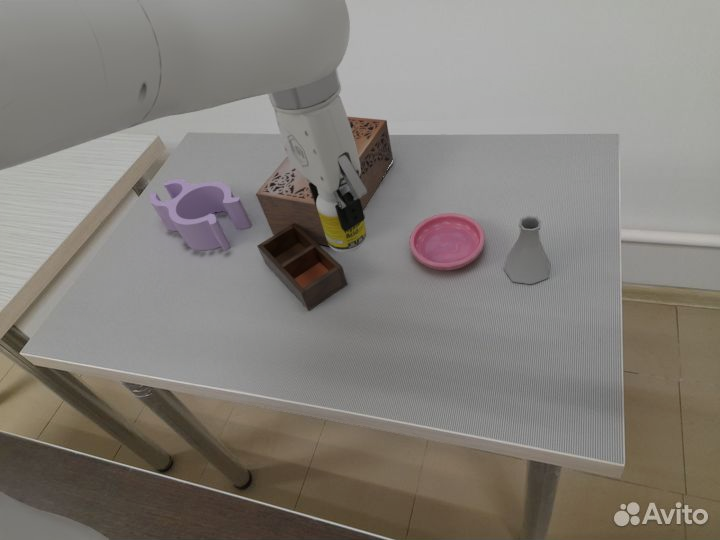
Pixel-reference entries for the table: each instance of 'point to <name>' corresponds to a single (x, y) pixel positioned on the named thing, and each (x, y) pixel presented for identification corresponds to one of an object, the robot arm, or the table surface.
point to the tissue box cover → (291, 189)
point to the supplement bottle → (338, 224)
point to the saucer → (447, 241)
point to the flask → (528, 254)
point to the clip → (199, 212)
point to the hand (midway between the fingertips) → (339, 212)
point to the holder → (303, 266)
